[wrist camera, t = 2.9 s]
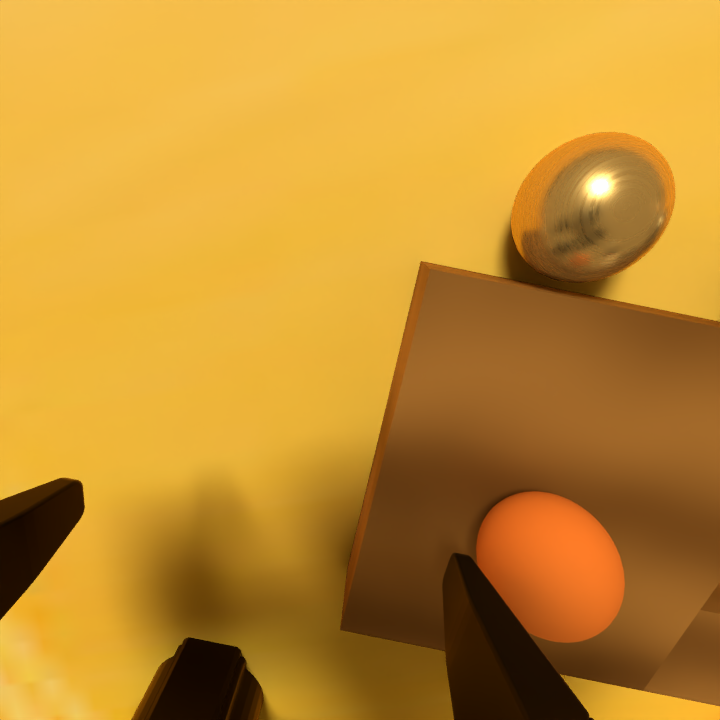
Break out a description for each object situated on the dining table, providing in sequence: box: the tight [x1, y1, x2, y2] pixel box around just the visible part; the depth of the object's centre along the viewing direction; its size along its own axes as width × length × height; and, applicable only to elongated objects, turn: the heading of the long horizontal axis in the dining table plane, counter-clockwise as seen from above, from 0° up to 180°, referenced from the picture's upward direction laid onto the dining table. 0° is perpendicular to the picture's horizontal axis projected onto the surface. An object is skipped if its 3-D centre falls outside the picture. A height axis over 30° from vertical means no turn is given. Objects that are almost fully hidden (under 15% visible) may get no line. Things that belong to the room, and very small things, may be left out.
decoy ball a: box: [511, 132, 675, 283], centre depth 9 cm, size 3×3×3 cm
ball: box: [476, 491, 625, 643], centre depth 10 cm, size 3×3×3 cm
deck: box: [340, 261, 720, 706], centre depth 12 cm, size 13×19×4 cm
